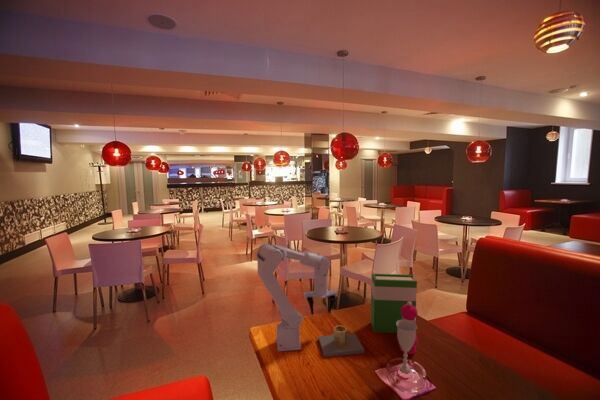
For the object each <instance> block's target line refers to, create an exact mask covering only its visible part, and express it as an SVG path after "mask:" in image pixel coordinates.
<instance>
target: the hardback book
mask: <svg viewBox="0 0 600 400" xmlns="http://www.w3.org/2000/svg"><path fill="white" fill-rule="evenodd" d="M417 289H418V280H416V279H415V280H414V279H413V274H398V273H397V274H396V273H393V274H392V273H372V274H371V305H370V324H371V327H372V330H373V333H384V334H385V333H387V334H390V333H391V334H397V328H398V327H397V325H396V322H397V321H398V320H402V316H403V315H402V313H401V308H402V306H403V305H406V304H407V302H408V301H410V302H411V303H412V305H413V306H414V307H415V308H416V309H417V295H418V294H417Z"/></svg>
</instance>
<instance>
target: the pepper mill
mask: <svg viewBox="0 0 600 400" xmlns="http://www.w3.org/2000/svg"><path fill="white" fill-rule="evenodd" d="M401 313H402V315H403V316H402V320H403V319H405V320H410V321H412V322H414V323H416V320H417V317H418V309H417V307H416V308H415V307H414V306H413V305H412V303H411V302H410V301H408V302H407V304H406V305H403V306H402V308H401ZM418 342H419V340H418V335H417V333H416V334H415V342H414V344H413V346H412V348H411V349H410V351H408V352H407V355H414V354H416V352H417V346H418ZM398 344H399V343H398ZM398 348H399V351H401V352H402V353H404V351H403V350H402V349H401V346H400V344H399V347H398Z"/></svg>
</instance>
